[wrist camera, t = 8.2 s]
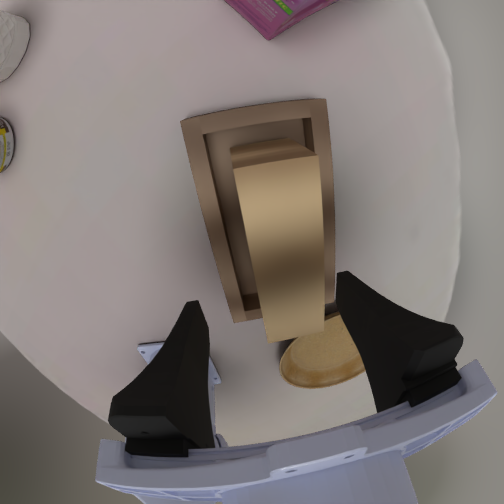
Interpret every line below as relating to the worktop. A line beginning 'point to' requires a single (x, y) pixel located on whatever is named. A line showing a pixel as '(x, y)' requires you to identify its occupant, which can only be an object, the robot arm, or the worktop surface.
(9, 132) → the supplement bottle
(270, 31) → the box
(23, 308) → the worktop surface
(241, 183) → the wooden block
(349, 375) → the plant saucer
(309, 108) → the walnut peg frame
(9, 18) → the white cup
